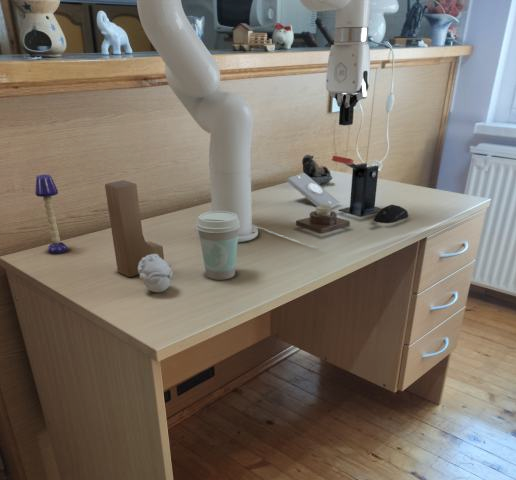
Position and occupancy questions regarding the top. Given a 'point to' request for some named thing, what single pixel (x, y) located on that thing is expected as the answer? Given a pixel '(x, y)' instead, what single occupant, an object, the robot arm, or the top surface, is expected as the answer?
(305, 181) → the light switch
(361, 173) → the lever
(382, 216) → the gaming mouse
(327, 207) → the button
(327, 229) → the button block
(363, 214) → the bracket
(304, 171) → the bison figurine
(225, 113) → the robot arm
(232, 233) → the coffee cup
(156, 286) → the frog figurine
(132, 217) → the wooden block
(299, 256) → the top surface
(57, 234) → the toy lamp
